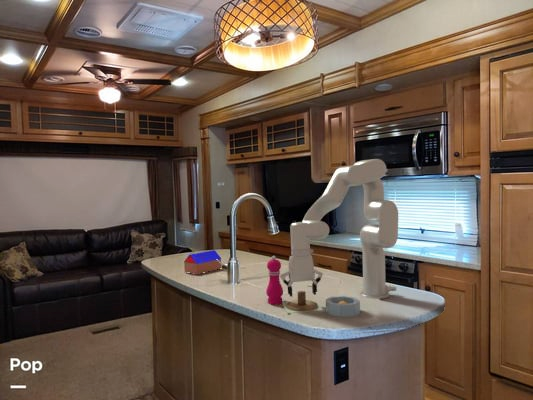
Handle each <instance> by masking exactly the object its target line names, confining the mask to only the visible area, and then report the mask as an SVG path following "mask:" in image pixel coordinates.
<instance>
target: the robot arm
mask: <svg viewBox="0 0 533 400" xmlns="http://www.w3.org/2000/svg"><path fill="white" fill-rule="evenodd" d="M386 173H387V164H385V161H383V160H382V159H379V158H372V159H364V160H359V161H356V162H355V163H353V165H345V166H339V167H338V168H337V169H336V170H335V171H334V173H333V174H332V177H331V178H330V180H329V182H328V184H327V186H326V188H325V190H324V192H323V193H322V195H321V196H320V197H319V198H318V199H317V200H316V201H315V202H314V203H313V204H312V205H311V207H310V208H309V209H308V210H307V212H306V213H305V214H304V217H303V219H302V221H298V222H292V223H291V224H290V226H289V228H290V249H291V252H290V253H291V255H290V256H289V259H288V270H287V271H286V272H284V273H282V274H280V275H279V278H280V279H281V280H282V282H283V284H285V285H286V286H287V294H288V295H289V296H290V297H291V298H292V297H293V286H292V285H293V284H294V283H296V282H297V283H298V282H309V281H310V282H312V284H311V291H312V294H313V295H315V296H316V295H317V292H318V284H319V282H320V281H321V280H322V278H323V275H324V273H323V272H321V271H319V270H317V269H315V267H314V266H315V265H314V260H313V256H312V255H311V254H312V253H314V249H313V248H311V246H310V245H311V243H310V242H311V241H310V240H323V239H326V238H327V237H328V236H329V233H330V227H329V225H328V224H327V223H326V222H325V221H322V219H323V217H324V216H326V215H327V214H328V213H329V212H331V211H333V210H335V209H336V208H338V207H340V205H341V204H342V203H343V200H344V198H345V197H346V195H347V193H348V191H349V190H350V187H355V186H356V187H358V186H362V187H363V195H364V196H363V215H364V217H365V219H366V220H368V221H371V222H376V223H377V222H378V224H375V223H369V224H366V225H364V226H363V227H362V228H361V229H360V232H359V238H360V244H361V249H362V251H361V252H362V282H363V283H362V285H363V289H362V290H361V291H360V292H359V295H360V297H363V298H368V299H379V300H383V299H387V298H389V297H390V292H396V291H397V286H391V285H386V256H385V255H386V254H385V251H384V249H391V248H394V246H396V244H397V242H398V237H399V210H398V207H397V205H396V203H395V201H394V202H393V201H392V200H389V199H385V188H384V184H383V182H382V179H381V178H383V177H384V176H385V174H386ZM315 274H317V277H316V275H315ZM286 277H288V280H286ZM315 277H316V278H315Z"/></svg>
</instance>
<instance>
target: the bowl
mask: <svg viewBox="0 0 533 400" xmlns="http://www.w3.org/2000/svg"><path fill="white" fill-rule="evenodd" d="M341 301H344V302H346V303H347V304H338V303H339V302H341ZM325 312H326V313H327V314H328V315H329V316H333V317H338V318H349V317H350V318H351V317H356V316H358V315H359V314H361V301H360V300H359V299H358V298H357V297H353V296H349V295H348V296H347V295H337V296H336V295H335V296H333V295H332V296H330V297H327V298H326V299H325Z"/></svg>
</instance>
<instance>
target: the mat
mask: <svg viewBox="0 0 533 400" xmlns="http://www.w3.org/2000/svg"><path fill="white" fill-rule="evenodd" d="M313 301H314V302H316V303H317V301H315V300H313ZM288 302H289V301H282V303H281V304H282V306H283V308H284V310H285V312H286V314H287V315H292V313H305V312H322V311H324V310H323V309H322V307H321V306H320V305H319V304H318V307H317V308H316V309H314V310H309V311H294V310H290V309H288V308H287V307H286V304H287V303H288Z"/></svg>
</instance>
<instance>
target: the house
mask: <svg viewBox="0 0 533 400" xmlns="http://www.w3.org/2000/svg"><path fill="white" fill-rule="evenodd" d="M216 259H218V260H219V261H220V262H221V264H220V263H219V262H218V261H217V260H216ZM183 262H184V265H183V266H184V267H183V268H184V273H185V272H190V273H194V274H199V273H203V272H207V273H209V272H208V271H212V270H216V269H220V268H221V269H222V257H221V256H220V255H219V253H218V252H217V251H216V250H215V249H214V250H208V251H202V252H198V253H192V254H189V255H188V256H187V258H185V260H184V261H183ZM221 269H220V270H221ZM216 271H217V270H216ZM212 272H213V271H212ZM194 274H193V275H194ZM203 274H204V273H203ZM199 275H200V274H199Z"/></svg>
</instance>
